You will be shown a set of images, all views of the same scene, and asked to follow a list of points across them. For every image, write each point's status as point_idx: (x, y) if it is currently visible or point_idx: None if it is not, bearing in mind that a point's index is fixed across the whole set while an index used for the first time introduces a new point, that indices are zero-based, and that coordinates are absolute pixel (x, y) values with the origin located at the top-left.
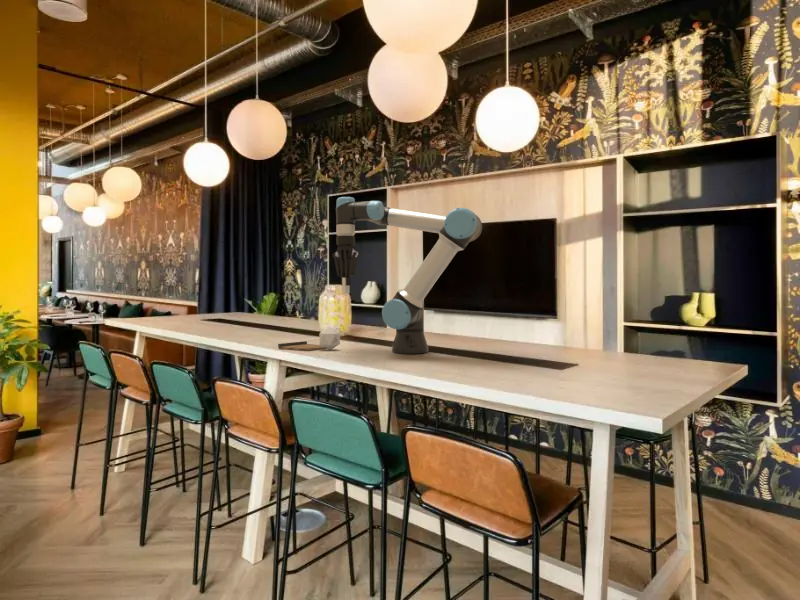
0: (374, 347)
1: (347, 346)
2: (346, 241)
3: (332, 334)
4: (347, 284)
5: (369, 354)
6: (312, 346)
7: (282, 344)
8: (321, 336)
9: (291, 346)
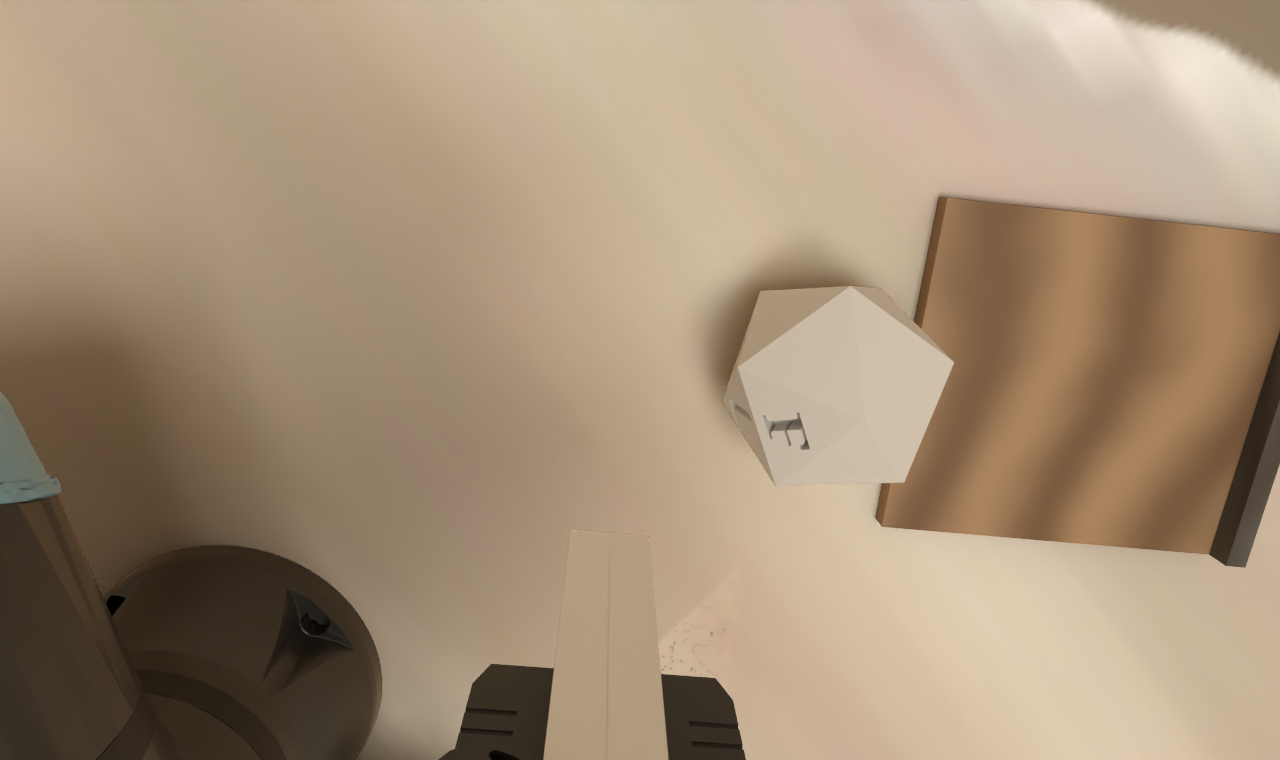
0: None
1: (854, 674)
2: None
3: (765, 343)
4: (502, 679)
5: (281, 229)
6: (1029, 393)
7: None
8: (877, 300)
9: (1215, 308)
